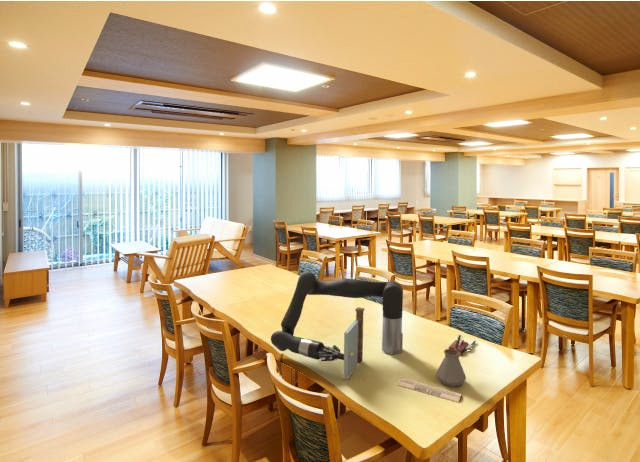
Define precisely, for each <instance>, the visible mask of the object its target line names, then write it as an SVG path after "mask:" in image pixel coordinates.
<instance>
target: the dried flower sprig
mask: <svg viewBox="0 0 640 462" xmlns="http://www.w3.org/2000/svg"><path fill="white" fill-rule="evenodd" d="M457 340H458V339H456V340H454V341H453V342H452V343H451V344H450V345H449V346H448V349H454V350H455V345H456V342H457ZM464 340H465V339H463V338H462V339H460V341H459V345H458V348H457V351H459V352H460V353H461V355H460V356H463V354H464V353H466V352H465V351H467V350H471V348H473V349H474V346H475V345H476V343H477V340H473V341H472V342H471V344H470V343H469V342H467V341H464ZM475 342H476V343H475ZM471 351H472V350H471Z"/></svg>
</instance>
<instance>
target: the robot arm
mask: <svg viewBox="0 0 640 462" xmlns="http://www.w3.org/2000/svg"><path fill="white" fill-rule="evenodd" d="M296 283H297V284H296V286H295V290H294V293H293V296H292V298H291V301H290V304H289V305H288V308H287V310H286V312H285V314H284V316H283V318H282V320H281V323H280V326H281V330H277V331H274V332H273V333H272V334H271V335H270V341H271V344H272V345H273V346H274V347H275V348H276V349H277V350H278V351H280V352H285V351H287V350H289V351H290V352H292V353H294V354H298V355H301V356H304V357H307V358H310V359H314V360H316V361H317V360H318V361H320V362H334V361H336V360H337V361H338V360H341V361H344V352H341V349H340V348H339V347H338V346H337V345H336V344H334V345H332V347H331V346H326V345H325V344H324V342H322V341H319V340H313V339H310V338H303V337H300V336H295V335H294V334H295V328H296V327H297V325H298V322H299V321H300V318H301V316H302V312H303V308H304V303H305V300H306V297H307V295H309V296H334V297H342V298H349V299H361V298H368V297H378V298H382V327H381V328H382V331H381V333H382V335H381V336H382V337H381V351H382V352H383V353H386V354H389V355H398V354H401V353H402V354H403V344H404V341H403V339H404V334H403V307H404V306H403V305H404V288H403V286H402V285H401V284H400V283H398V282H397V281H371V280H364V279H357V278H345V277H344V278H339V279H334V280H331V281H323V280H320V279H319V280H318V279H317V277H316V276H315V274H314V273H313V272H311V271H304V272H302V273H301V274H300V275H299V277H298V280H297V282H296Z"/></svg>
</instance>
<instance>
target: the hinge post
mask: <svg viewBox="0 0 640 462" xmlns="http://www.w3.org/2000/svg"><path fill="white" fill-rule="evenodd" d="M364 311H365V308H364V307H356V308H355V314H356V315H355V320H359V329H358V364H361V363H363V358H364V357H363V353H364V352H363V349H364V348H363V345H364V342H363V341H364Z"/></svg>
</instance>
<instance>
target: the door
mask: <svg viewBox="0 0 640 462" xmlns="http://www.w3.org/2000/svg"><path fill="white" fill-rule="evenodd" d="M358 329H359V320H356V319H355V320H354V321H353V322H352V323H351V324H350V325H349V327H348V328H347V329H346V330H345V331H344V333H343V334H344V336H343V337H344V338H343V339H344V341H343V354H344V360H343V380H349V378H350V376H351V375H352V374H353V372H354V371H355V368H356V367H357V366H358V364H359V363H358Z"/></svg>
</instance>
